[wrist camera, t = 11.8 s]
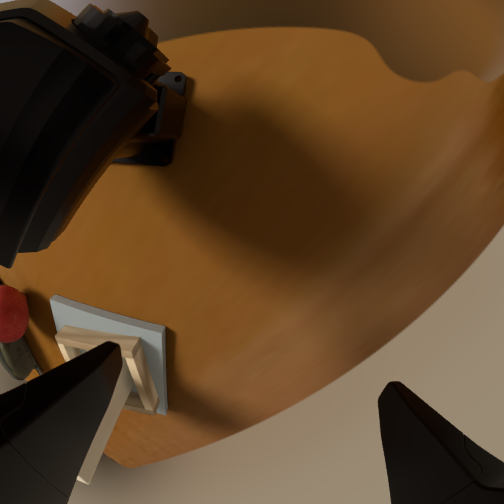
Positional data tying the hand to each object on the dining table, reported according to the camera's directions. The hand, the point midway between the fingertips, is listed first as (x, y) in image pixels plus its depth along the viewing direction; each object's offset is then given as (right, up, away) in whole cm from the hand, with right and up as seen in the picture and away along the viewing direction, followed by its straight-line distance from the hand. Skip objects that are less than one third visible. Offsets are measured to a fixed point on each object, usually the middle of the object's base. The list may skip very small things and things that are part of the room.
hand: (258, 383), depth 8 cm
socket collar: (-14, -7, +15) cm, 21 cm away
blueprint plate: (-14, -7, +16) cm, 22 cm away
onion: (-25, -1, +14) cm, 29 cm away
